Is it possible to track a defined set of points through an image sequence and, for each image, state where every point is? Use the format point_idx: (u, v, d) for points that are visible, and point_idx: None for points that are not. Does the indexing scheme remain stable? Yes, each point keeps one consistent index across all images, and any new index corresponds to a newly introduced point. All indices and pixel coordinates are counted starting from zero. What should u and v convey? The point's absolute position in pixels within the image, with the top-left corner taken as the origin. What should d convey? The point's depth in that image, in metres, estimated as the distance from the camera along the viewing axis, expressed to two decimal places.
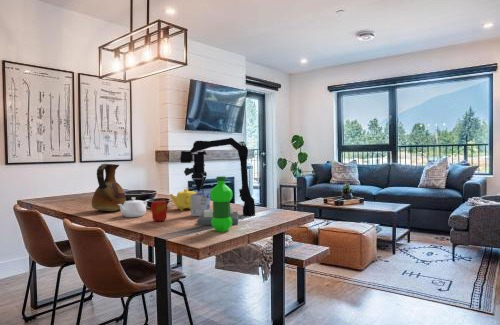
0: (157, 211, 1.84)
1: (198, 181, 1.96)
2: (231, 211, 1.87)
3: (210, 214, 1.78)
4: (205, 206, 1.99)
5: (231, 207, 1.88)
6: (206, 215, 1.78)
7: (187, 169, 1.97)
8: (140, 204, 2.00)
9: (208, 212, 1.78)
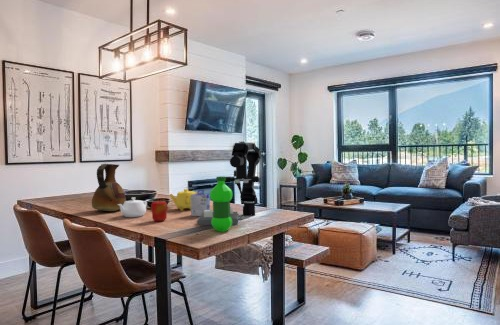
0: (157, 211, 1.84)
1: None
2: (231, 211, 1.87)
3: (210, 214, 1.78)
4: (205, 206, 1.99)
5: (231, 207, 1.88)
6: (206, 215, 1.78)
7: None
8: (140, 204, 2.00)
9: (208, 212, 1.78)
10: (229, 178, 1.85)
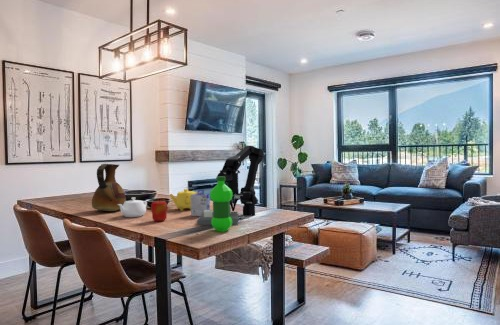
0: (157, 211, 1.84)
1: None
2: None
3: (210, 214, 1.78)
4: (205, 206, 1.99)
5: None
6: (206, 215, 1.78)
7: None
8: (140, 204, 2.00)
9: (208, 212, 1.78)
10: None
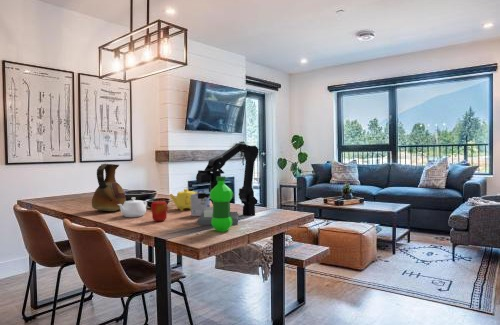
0: (157, 211, 1.84)
1: None
2: None
3: (210, 214, 1.78)
4: (205, 206, 1.99)
5: (212, 207, 1.88)
6: (206, 215, 1.78)
7: None
8: (140, 204, 2.00)
9: (208, 212, 1.78)
10: (203, 194, 1.85)
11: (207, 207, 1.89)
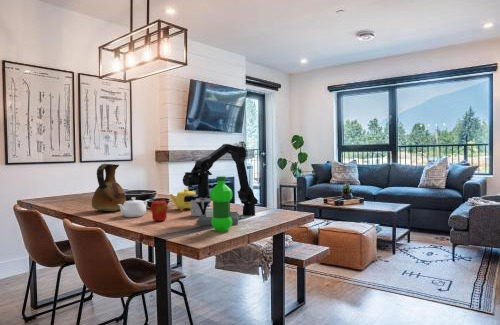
0: (157, 211, 1.84)
1: None
2: None
3: (212, 214, 1.78)
4: None
5: (212, 207, 1.88)
6: (208, 215, 1.78)
7: (196, 190, 1.85)
8: (140, 204, 2.00)
9: (210, 212, 1.78)
10: (190, 197, 1.77)
11: (207, 207, 1.89)
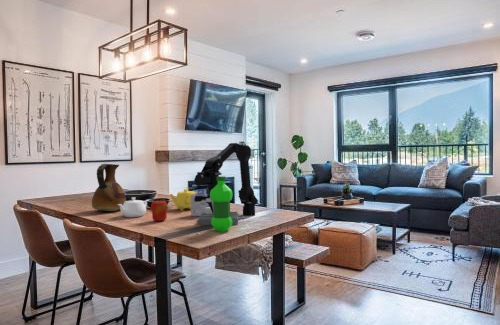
0: (157, 211, 1.84)
1: None
2: None
3: None
4: (205, 206, 1.99)
5: None
6: None
7: (206, 189, 1.85)
8: (140, 204, 2.00)
9: None
10: (200, 197, 1.77)
11: (207, 207, 1.89)
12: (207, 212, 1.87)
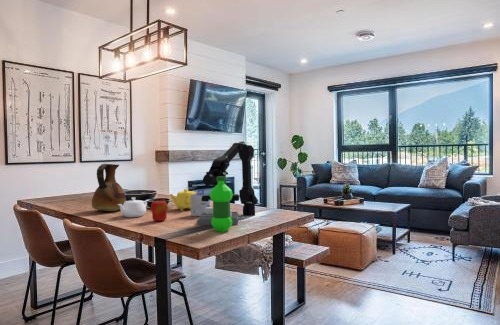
0: (157, 211, 1.84)
1: None
2: (212, 211, 1.87)
3: (230, 214, 1.78)
4: (205, 206, 1.99)
5: (212, 207, 1.88)
6: None
7: None
8: (140, 204, 2.00)
9: None
10: (207, 197, 1.77)
11: (207, 207, 1.89)
12: (207, 212, 1.87)
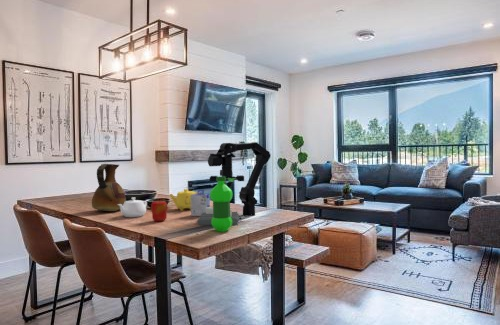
0: (157, 211, 1.84)
1: None
2: (212, 211, 1.87)
3: (230, 214, 1.78)
4: (205, 206, 1.99)
5: (212, 207, 1.88)
6: None
7: (220, 171, 1.99)
8: (140, 204, 2.00)
9: None
10: (215, 177, 1.91)
11: (207, 207, 1.89)
12: (207, 212, 1.87)
